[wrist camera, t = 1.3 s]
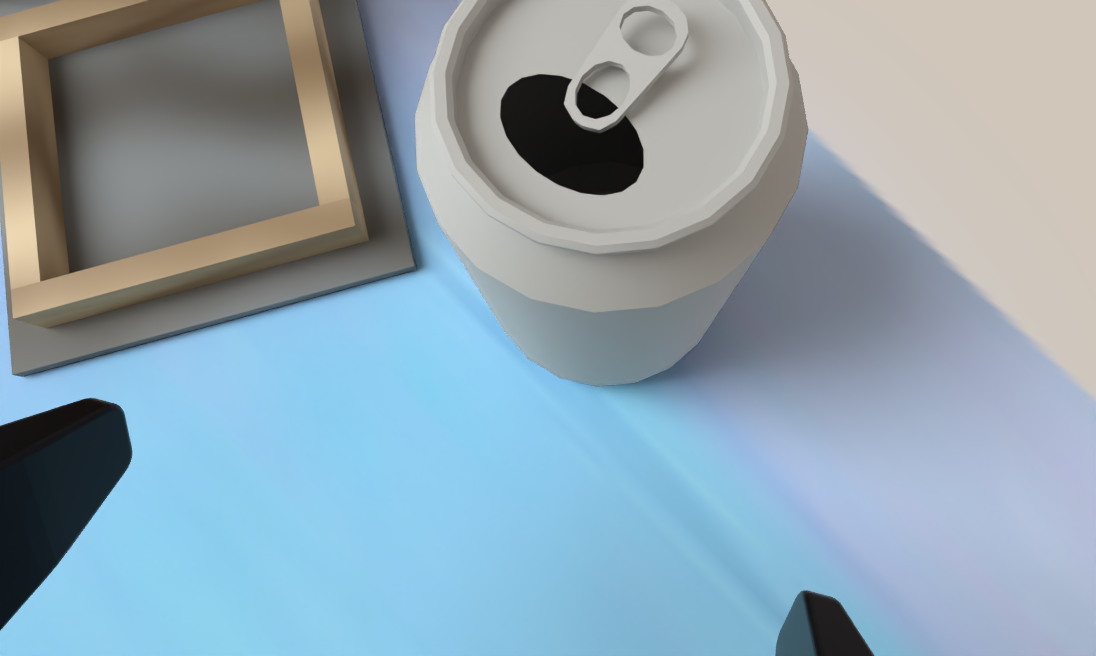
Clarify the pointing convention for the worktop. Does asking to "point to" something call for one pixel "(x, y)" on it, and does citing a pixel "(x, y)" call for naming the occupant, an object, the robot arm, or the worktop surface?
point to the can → (609, 168)
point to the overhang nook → (185, 168)
